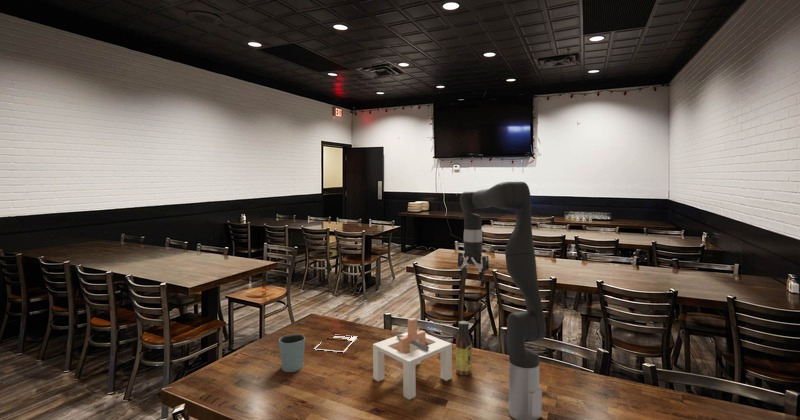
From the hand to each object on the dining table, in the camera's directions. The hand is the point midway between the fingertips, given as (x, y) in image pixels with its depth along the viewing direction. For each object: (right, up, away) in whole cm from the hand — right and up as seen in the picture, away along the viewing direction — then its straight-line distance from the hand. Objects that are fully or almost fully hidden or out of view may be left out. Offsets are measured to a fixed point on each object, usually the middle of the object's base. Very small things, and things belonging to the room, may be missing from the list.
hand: (472, 278), depth 166 cm
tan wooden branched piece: (-25, -29, -14) cm, 41 cm away
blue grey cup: (-74, -36, -3) cm, 82 cm away
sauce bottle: (-5, -35, -9) cm, 37 cm away
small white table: (-25, -36, -14) cm, 46 cm away
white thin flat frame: (-60, -34, +20) cm, 72 cm away
